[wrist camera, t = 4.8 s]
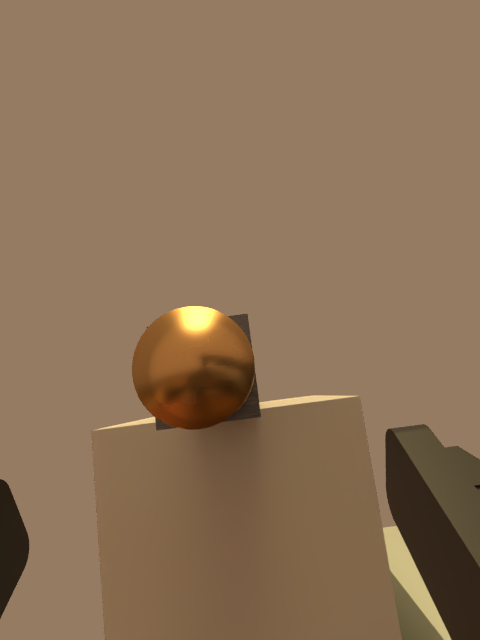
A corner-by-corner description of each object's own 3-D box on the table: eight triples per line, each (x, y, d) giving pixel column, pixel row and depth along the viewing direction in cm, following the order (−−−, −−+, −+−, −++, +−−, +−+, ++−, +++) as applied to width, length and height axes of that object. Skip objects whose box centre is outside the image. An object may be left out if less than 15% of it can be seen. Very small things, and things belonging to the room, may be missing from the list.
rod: (256, 402, 34) (251, 364, 34) (262, 421, 10) (246, 299, 11) (218, 407, 34) (214, 369, 34) (137, 437, 10) (126, 314, 11)
